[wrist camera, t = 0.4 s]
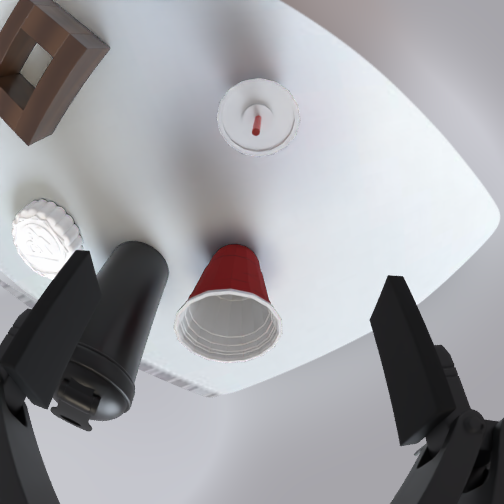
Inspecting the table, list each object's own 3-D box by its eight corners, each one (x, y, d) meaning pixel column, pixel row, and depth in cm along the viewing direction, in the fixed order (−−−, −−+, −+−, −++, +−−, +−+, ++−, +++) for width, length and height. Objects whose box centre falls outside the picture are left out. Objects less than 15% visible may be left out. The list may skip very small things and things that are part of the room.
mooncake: (76, 200, 36) (62, 213, 33) (90, 273, 42) (80, 288, 39) (15, 196, 35) (1, 208, 32) (33, 262, 42) (21, 276, 39)
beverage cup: (304, 106, 29) (329, 136, 17) (259, 144, 31) (254, 199, 20) (261, 63, 26) (257, 60, 15) (217, 103, 29) (182, 132, 17)
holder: (-1, 80, 25) (-26, 87, 21) (48, -3, 20) (22, -6, 16) (52, 133, 30) (28, 146, 26) (110, 48, 25) (87, 48, 21)
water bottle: (99, 273, 42) (27, 404, 23) (118, 222, 37) (22, 367, 18) (158, 305, 45) (111, 447, 26) (187, 259, 40) (133, 425, 21)
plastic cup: (274, 298, 43) (274, 370, 33) (195, 290, 43) (177, 359, 33) (286, 230, 37) (292, 300, 27) (195, 220, 37) (169, 286, 27)
